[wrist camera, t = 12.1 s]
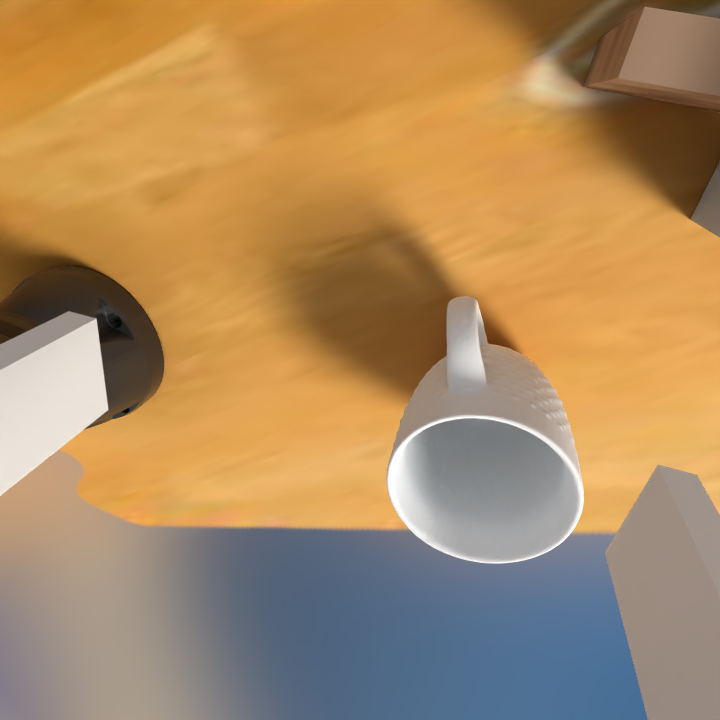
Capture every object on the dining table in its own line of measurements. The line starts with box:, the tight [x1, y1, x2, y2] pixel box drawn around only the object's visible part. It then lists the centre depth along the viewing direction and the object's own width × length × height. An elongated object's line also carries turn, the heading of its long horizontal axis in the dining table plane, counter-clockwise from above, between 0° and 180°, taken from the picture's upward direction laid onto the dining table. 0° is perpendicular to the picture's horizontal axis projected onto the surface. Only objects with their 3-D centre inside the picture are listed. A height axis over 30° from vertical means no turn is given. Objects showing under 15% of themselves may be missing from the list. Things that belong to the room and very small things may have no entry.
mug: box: [387, 296, 584, 563], centre depth 32 cm, size 15×11×13 cm
